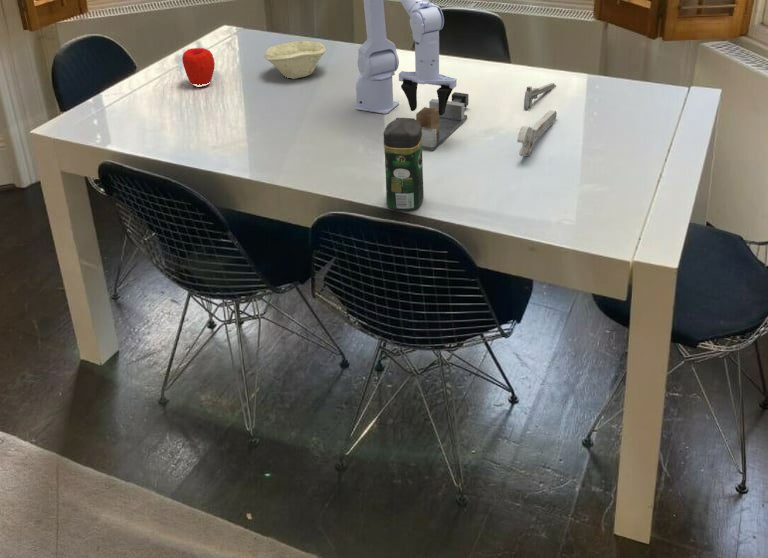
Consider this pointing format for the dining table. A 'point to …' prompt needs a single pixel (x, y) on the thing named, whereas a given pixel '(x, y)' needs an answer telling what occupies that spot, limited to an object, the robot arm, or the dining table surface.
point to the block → (428, 118)
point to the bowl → (295, 57)
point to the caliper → (535, 94)
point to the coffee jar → (403, 164)
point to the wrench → (534, 132)
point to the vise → (445, 130)
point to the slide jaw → (452, 106)
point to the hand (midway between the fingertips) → (427, 111)
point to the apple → (198, 65)
